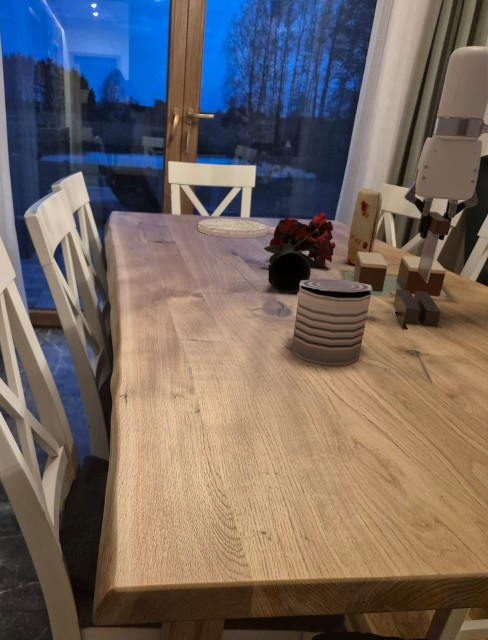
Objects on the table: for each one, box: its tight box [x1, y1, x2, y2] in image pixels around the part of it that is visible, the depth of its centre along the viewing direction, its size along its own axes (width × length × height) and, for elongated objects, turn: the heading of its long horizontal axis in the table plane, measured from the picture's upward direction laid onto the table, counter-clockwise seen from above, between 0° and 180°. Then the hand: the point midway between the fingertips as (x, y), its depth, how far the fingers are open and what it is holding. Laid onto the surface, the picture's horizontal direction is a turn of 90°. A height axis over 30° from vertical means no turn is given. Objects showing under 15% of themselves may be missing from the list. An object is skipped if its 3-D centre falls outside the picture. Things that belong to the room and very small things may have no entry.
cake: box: [396, 255, 447, 297], centre depth 133 cm, size 8×13×6 cm, turn 169°
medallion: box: [197, 218, 276, 239], centre depth 194 cm, size 24×27×2 cm
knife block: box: [393, 289, 442, 330], centre depth 114 cm, size 14×6×4 cm, turn 169°
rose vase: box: [263, 212, 336, 294], centre depth 140 cm, size 16×18×35 cm
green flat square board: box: [343, 271, 448, 298], centre depth 135 cm, size 22×20×1 cm
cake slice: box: [353, 252, 389, 292], centre depth 135 cm, size 6×13×6 cm, turn 169°
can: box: [291, 278, 373, 367], centre depth 93 cm, size 11×11×12 cm
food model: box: [347, 187, 383, 267], centre depth 151 cm, size 10×7×20 cm
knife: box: [418, 211, 451, 283], centre depth 109 cm, size 12×2×11 cm, turn 169°
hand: (431, 237), depth 108 cm, fingers closed on knife, 2 cm apart
